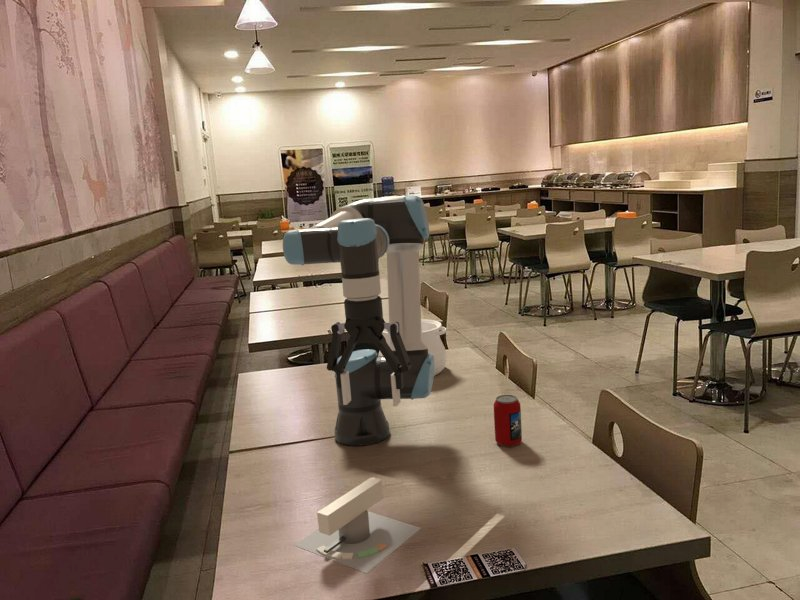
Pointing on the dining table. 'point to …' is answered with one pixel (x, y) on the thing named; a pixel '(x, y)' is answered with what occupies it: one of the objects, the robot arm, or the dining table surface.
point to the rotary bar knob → (350, 513)
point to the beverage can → (507, 420)
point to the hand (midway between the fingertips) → (371, 403)
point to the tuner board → (362, 543)
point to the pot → (430, 342)
